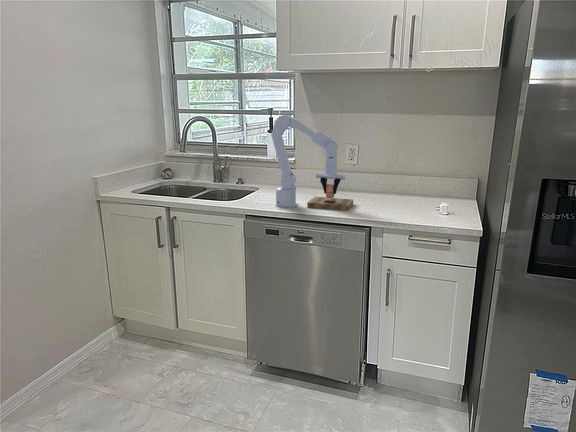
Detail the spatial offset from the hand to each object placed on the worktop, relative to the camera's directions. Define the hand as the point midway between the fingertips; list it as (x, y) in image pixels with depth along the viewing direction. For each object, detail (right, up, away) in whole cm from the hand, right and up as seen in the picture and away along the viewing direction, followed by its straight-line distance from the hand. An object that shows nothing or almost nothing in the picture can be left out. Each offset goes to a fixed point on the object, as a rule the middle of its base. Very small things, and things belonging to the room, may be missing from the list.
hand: (330, 193), depth 207 cm
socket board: (+1, -6, +4) cm, 7 cm away
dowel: (0, -2, 0) cm, 2 cm away
